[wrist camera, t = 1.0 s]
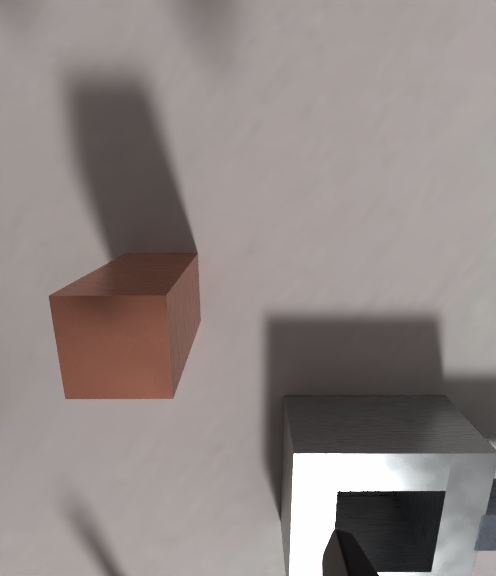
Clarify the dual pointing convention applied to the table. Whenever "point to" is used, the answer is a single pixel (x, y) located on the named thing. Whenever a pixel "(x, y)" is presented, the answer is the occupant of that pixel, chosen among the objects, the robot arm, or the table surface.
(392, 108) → the table surface
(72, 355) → the square peg
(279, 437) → the table surface
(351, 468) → the square frame with handle
